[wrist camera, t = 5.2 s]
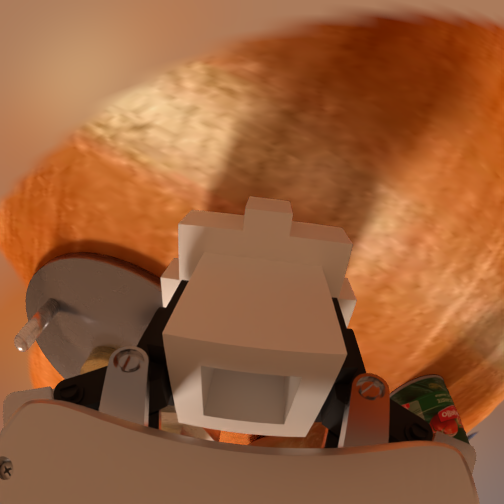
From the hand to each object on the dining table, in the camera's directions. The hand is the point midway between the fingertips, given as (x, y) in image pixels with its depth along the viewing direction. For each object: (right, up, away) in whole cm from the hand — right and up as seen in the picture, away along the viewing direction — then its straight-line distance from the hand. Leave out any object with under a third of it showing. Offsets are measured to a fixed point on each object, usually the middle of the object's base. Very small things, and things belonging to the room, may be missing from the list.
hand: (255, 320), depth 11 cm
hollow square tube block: (0, +1, +3) cm, 3 cm away
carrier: (-12, -7, +11) cm, 18 cm away
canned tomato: (+17, -13, +12) cm, 25 cm away
